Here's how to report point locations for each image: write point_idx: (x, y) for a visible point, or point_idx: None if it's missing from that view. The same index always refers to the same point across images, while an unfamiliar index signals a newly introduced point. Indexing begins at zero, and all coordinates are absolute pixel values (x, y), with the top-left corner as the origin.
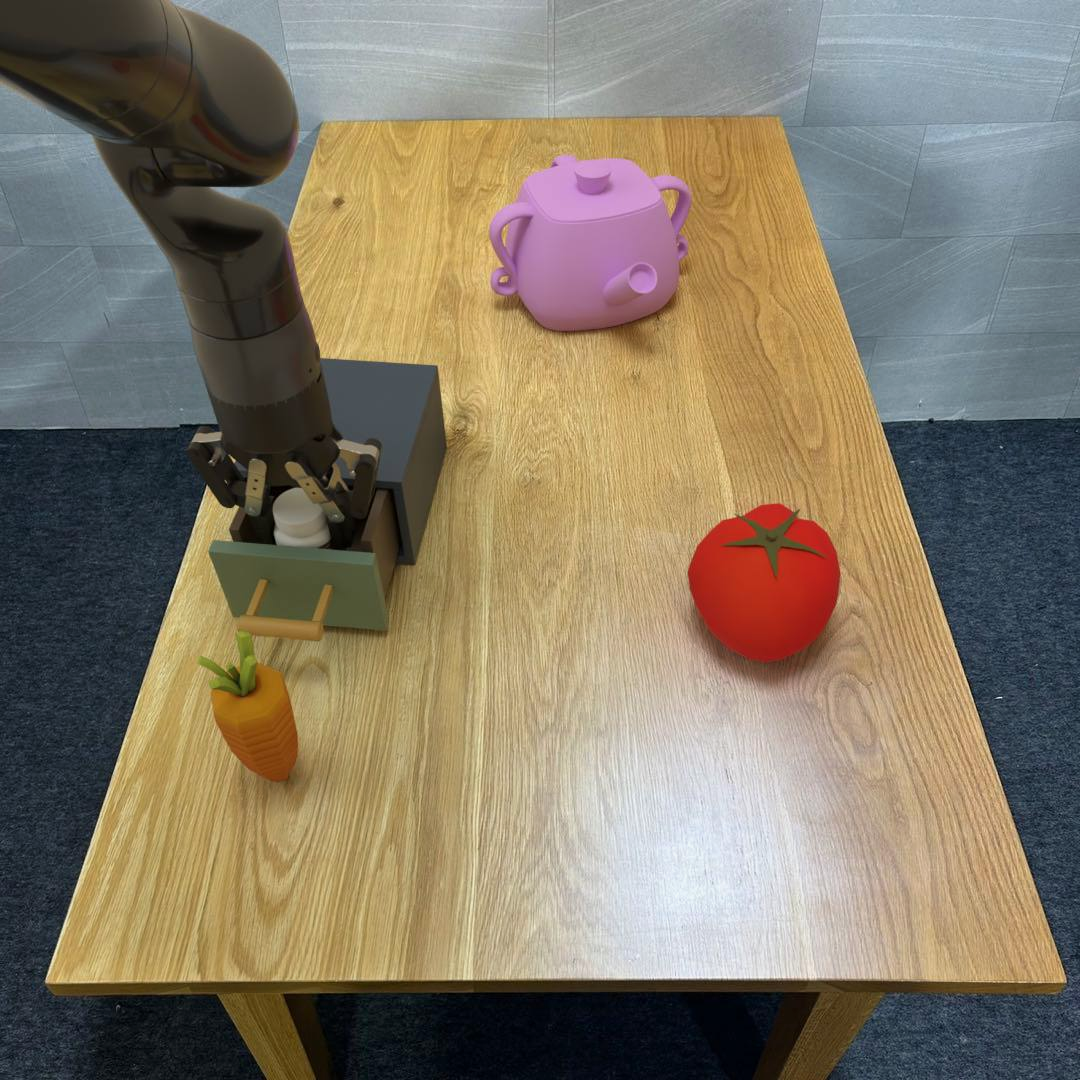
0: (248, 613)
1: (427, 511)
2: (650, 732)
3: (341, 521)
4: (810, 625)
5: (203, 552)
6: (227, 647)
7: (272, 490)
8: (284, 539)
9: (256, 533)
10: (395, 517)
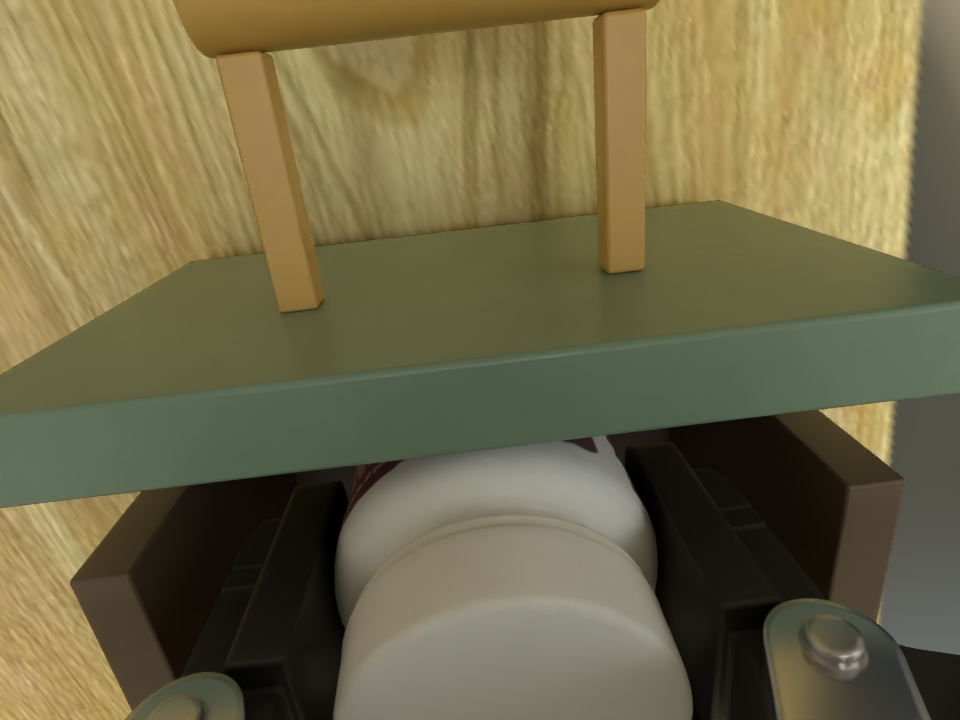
0: (632, 20)
1: None
2: None
3: (161, 691)
4: None
5: (868, 424)
6: (704, 95)
7: None
8: (562, 485)
9: (738, 493)
10: None
